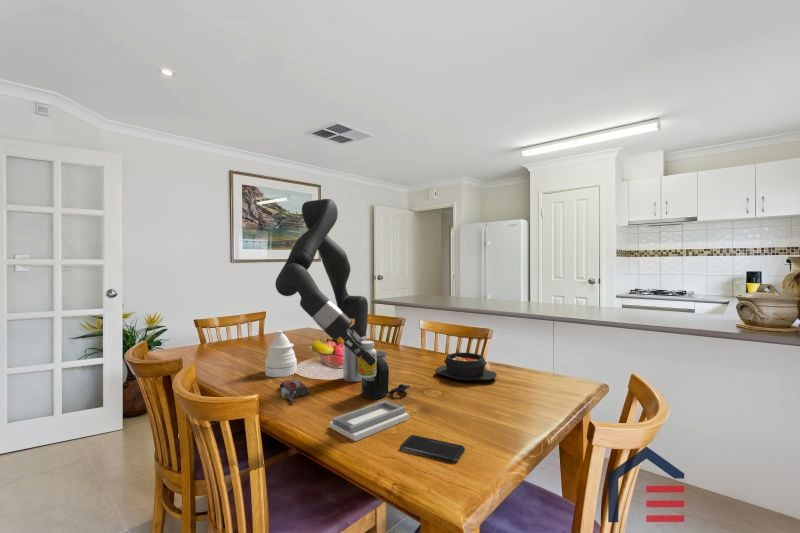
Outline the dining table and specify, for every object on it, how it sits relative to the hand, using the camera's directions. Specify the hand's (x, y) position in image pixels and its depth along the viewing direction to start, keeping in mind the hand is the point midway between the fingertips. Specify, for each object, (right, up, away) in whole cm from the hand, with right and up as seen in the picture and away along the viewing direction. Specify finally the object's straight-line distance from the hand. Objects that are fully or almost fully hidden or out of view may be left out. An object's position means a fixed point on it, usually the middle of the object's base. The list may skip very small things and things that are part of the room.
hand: (373, 360), depth 111 cm
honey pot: (-43, -18, +52) cm, 69 cm away
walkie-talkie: (-30, -19, +25) cm, 43 cm away
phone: (+16, -19, -16) cm, 29 cm away
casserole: (+34, -18, +44) cm, 59 cm away
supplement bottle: (-2, -4, 0) cm, 5 cm away
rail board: (-1, -18, 0) cm, 18 cm away
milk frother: (+3, -18, +24) cm, 31 cm away
